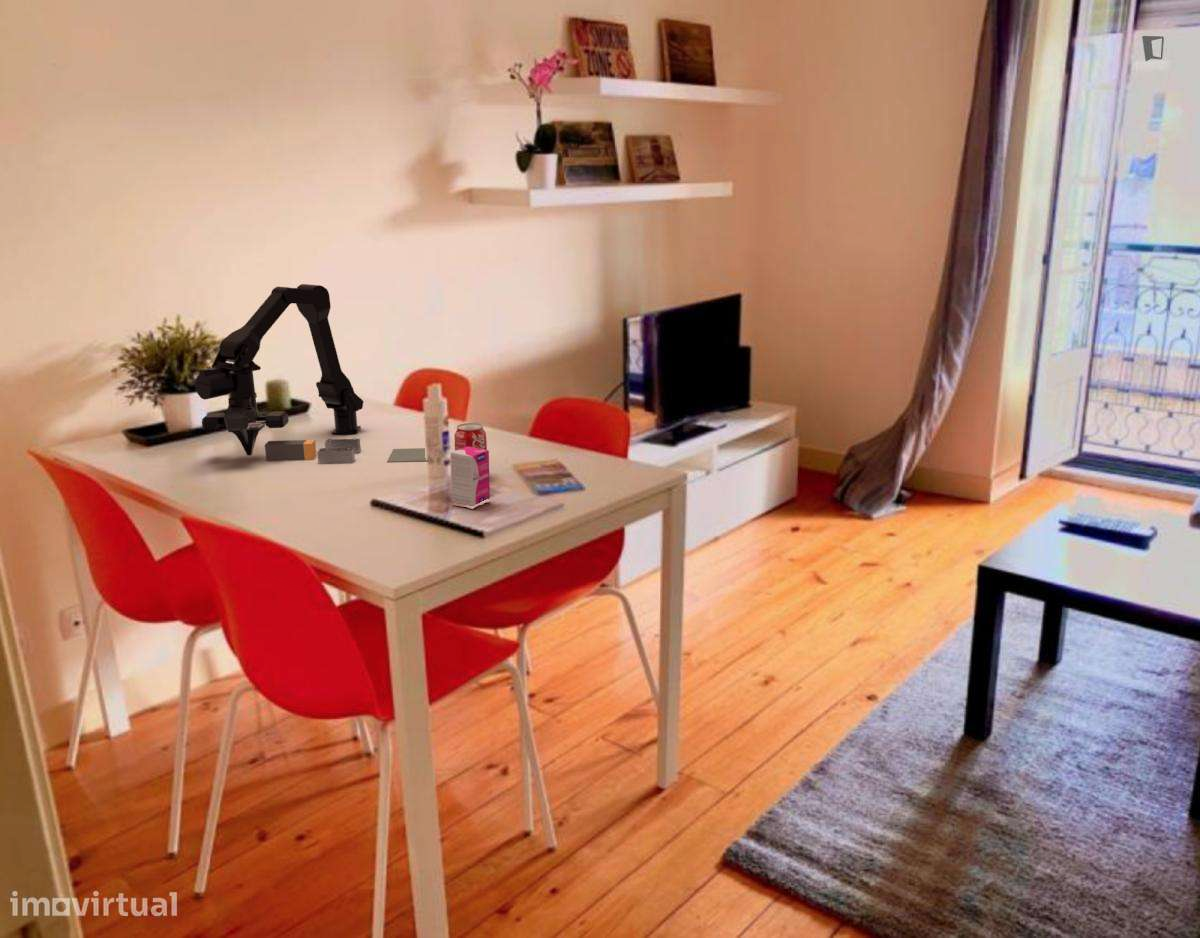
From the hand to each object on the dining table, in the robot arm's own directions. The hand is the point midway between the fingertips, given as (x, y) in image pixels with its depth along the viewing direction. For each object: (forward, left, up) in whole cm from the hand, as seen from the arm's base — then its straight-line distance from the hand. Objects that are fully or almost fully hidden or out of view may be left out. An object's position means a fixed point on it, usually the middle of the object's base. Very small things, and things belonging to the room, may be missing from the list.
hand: (249, 455), depth 231 cm
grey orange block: (0, +10, -1) cm, 10 cm away
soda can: (+20, +54, -1) cm, 58 cm away
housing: (0, +21, -1) cm, 21 cm away
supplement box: (+38, +55, -1) cm, 67 cm away
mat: (0, +39, -1) cm, 39 cm away
